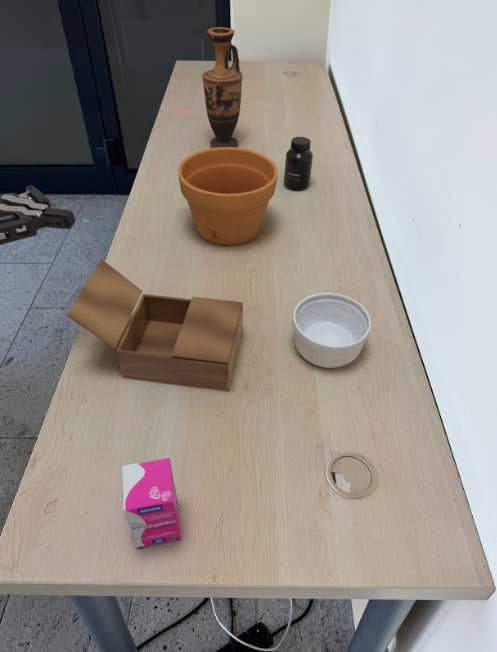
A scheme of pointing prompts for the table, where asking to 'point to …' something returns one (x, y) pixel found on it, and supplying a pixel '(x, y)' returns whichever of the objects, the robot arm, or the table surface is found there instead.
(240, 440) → the table surface
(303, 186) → the supplement bottle
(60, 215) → the robot arm
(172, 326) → the carton
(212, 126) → the vase
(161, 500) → the supplement box
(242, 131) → the table surface
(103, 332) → the flap
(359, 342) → the ramekin
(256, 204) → the flower pot
